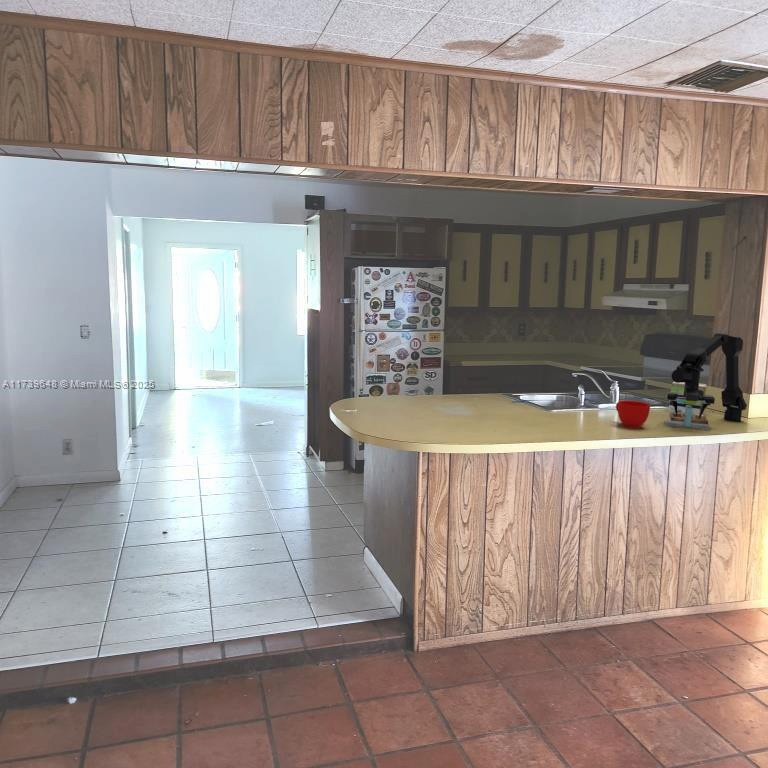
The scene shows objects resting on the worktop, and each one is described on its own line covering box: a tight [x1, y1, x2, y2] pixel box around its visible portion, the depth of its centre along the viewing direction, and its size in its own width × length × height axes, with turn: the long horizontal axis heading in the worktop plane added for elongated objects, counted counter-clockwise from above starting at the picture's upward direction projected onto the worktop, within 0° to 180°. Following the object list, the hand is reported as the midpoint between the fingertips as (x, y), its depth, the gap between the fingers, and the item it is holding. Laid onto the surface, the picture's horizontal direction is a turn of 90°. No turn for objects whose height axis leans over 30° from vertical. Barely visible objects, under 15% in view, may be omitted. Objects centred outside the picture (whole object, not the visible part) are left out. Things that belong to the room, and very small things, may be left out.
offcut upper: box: [694, 413, 705, 419], centre depth 303 cm, size 4×6×2 cm, turn 160°
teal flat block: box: [684, 405, 693, 427], centre depth 292 cm, size 2×7×8 cm, turn 160°
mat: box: [663, 420, 712, 432], centre depth 293 cm, size 18×10×1 cm, turn 70°
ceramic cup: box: [615, 400, 651, 429], centre depth 290 cm, size 13×17×10 cm
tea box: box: [668, 380, 708, 415], centre depth 323 cm, size 15×10×15 cm
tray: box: [669, 412, 709, 425], centre depth 304 cm, size 15×12×2 cm
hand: (687, 417), depth 292 cm, fingers open, 9 cm apart
